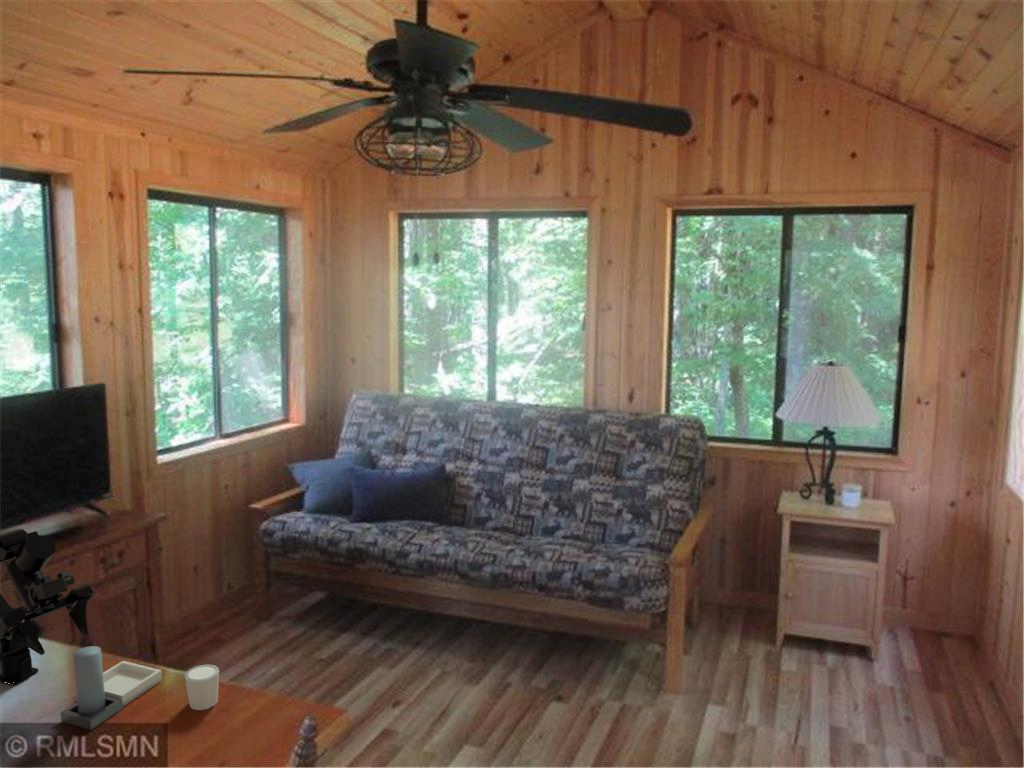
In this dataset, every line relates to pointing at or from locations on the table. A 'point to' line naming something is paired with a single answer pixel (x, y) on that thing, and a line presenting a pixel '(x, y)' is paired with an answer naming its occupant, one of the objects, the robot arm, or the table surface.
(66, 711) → the socket
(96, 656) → the post
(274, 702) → the table surface
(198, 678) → the white cup
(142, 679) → the tray
